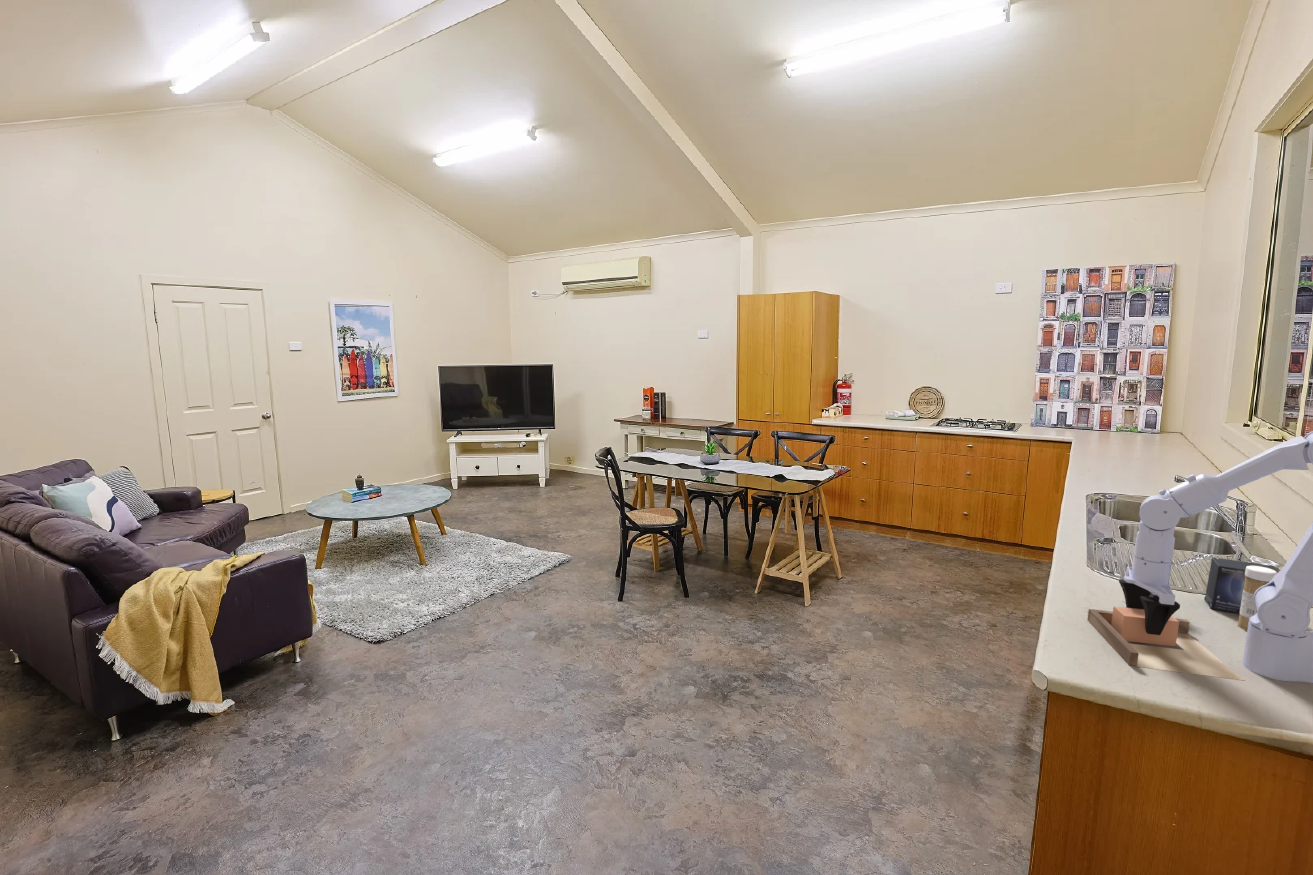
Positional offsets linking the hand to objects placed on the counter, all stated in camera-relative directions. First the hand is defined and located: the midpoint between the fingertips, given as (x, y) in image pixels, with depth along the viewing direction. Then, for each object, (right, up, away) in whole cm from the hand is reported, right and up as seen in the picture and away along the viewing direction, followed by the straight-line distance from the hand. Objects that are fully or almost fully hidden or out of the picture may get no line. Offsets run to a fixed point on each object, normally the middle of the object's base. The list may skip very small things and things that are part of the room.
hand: (1143, 625), depth 120 cm
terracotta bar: (0, -3, 0) cm, 3 cm away
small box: (+34, -2, +16) cm, 38 cm away
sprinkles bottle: (+27, -3, +6) cm, 28 cm away
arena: (0, -4, -3) cm, 5 cm away
